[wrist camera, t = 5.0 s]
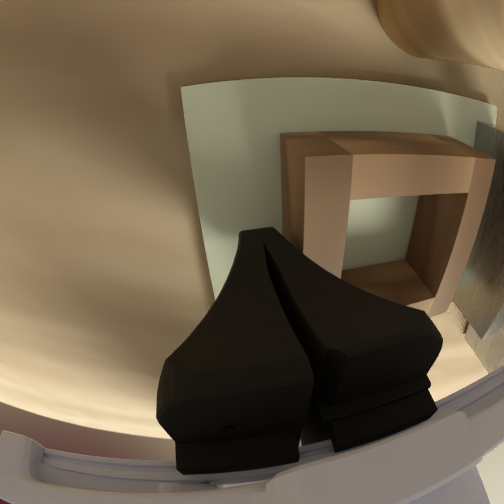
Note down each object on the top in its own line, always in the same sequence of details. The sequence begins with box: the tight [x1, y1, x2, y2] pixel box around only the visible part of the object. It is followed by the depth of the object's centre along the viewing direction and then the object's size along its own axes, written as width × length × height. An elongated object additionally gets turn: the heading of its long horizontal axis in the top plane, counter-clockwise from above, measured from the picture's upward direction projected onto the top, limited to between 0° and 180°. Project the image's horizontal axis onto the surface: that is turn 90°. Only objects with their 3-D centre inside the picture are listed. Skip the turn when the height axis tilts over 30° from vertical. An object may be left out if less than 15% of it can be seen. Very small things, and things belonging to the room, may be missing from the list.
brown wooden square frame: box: [280, 131, 496, 317], centre depth 11 cm, size 8×8×3 cm
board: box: [181, 77, 498, 300], centre depth 13 cm, size 15×12×1 cm
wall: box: [452, 121, 504, 340], centre depth 11 cm, size 2×10×5 cm, turn 4°
